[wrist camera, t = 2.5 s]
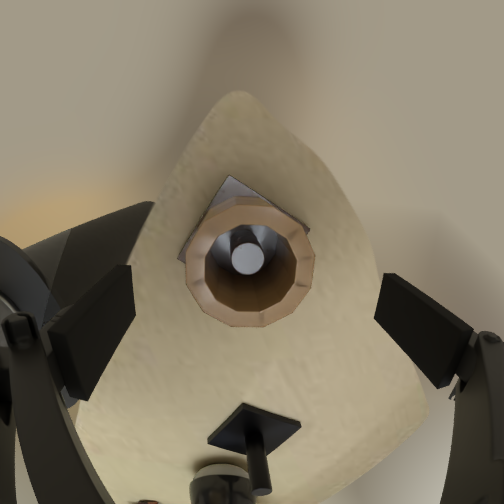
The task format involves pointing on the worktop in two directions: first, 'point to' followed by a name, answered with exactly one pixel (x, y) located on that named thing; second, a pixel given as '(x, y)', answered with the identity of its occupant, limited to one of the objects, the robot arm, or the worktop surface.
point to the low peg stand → (241, 236)
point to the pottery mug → (147, 503)
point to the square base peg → (254, 441)
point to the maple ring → (259, 284)
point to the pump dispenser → (221, 486)
